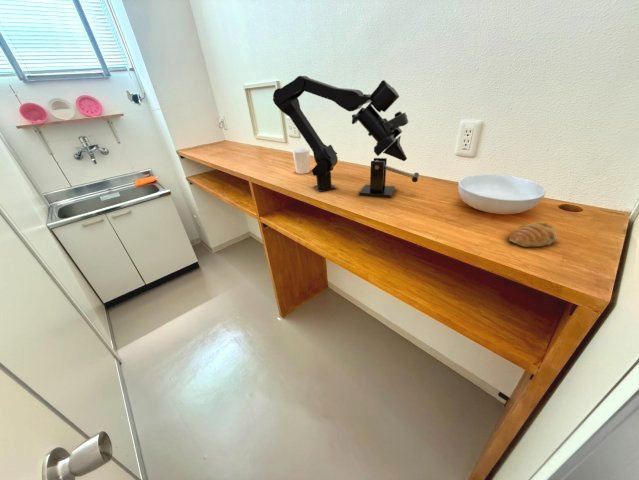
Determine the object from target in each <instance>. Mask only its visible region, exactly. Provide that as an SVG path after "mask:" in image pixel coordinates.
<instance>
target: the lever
mask: <svg viewBox="0 0 639 480" xmlns="http://www.w3.org/2000/svg"><path fill="white" fill-rule="evenodd" d="M376 161H379V160H376ZM384 169H386V171H389V172H392V173H395V174H398V175H402V176H404V177H407V178H410V179H411V181H412V182H413V183H417V182H418V181H419V177H420V173H419V172H414V173H410V172H407V171H405V170H401V169H398V168H395V167H392V166H389V165H387V164H386V165H384Z"/></svg>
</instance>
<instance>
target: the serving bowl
mask: <svg viewBox="0 0 639 480" xmlns="http://www.w3.org/2000/svg"><path fill="white" fill-rule="evenodd" d="M457 187H458V188H457V190H458V191H457V192H458V195H459V197H460V199H461V200H462V201H463V202H464V203H465V204H466V205H468V206H469V207H471V208H473V209H475V210H479V211H481V212H484V213H489V214H496V215H514V214H520V213H524V212H527V211H529V210H532V209H533V208H534V207H536V206H537V205H538V204H539V203H541V202H542V200H543V199H544V197H545V195H546V192H547V191H546V188H545V187H543V186H542V185H541V184H540V183H537V182H535V181H532V180H529V179H526V178H523V177H519V176H513V175H506V174H497V173H495V174H494V173H479V174H471V175H467V176H464V177H462V178H460V179H459V180H458V184H457Z"/></svg>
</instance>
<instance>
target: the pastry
mask: <svg viewBox="0 0 639 480" xmlns="http://www.w3.org/2000/svg"><path fill="white" fill-rule="evenodd" d="M557 240H558V236H557V232H556V228H555V227H554V226H553V225H552V224H550V223H547V222H540V221H536V222H533V223H527V224H523V225H521V226H518V227H517V228H515V229H514V230H513V231H512V232H511V233H510V234H509V242H512V243H513V244H516V245H519V246H521V247H523V248H525V247H527V248H529V247H534V248H537V247H543V246H547V245H548V246H549V245H551V244H552V243H555V242H556V241H557Z"/></svg>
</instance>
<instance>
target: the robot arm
mask: <svg viewBox="0 0 639 480" xmlns="http://www.w3.org/2000/svg"><path fill="white" fill-rule="evenodd" d="M305 92H306V93H309V94H312V95H314V96H318V97H320V98H323V99H327V100H330V101H332V102H334V103H335V104H336V105H338V106H339V107H340V108H342V109H344V110H345V111H347V112H355V111H358V112H357V113H354V114H352V115H351V124H352V125H354V124H357V123H358V122H359V123H360V124H361V125H362V126H363V128H364V129H365V130H366V132H368V133H367V135H368V136H369V137H372V138H373V139H374V141H375V142H376V145H375V146H374V147H373V153H374V154H375V155H376V156H377V157H379V156H380V155H381V154H382V153H383V154H386V155H388V156H390V157H393V158H395V159H398V160H399V161H402V162H406V161H407V160H408V157H407V156H406V153H405V151H404V149H403V147H402V145H401V138H402V135H400V134H401V133H402V132H403V130H402V129H401V128H400V127H404V126H406V125H408V123H409V120H408V115H407V113H406V112H402V111H400V110H399V111H398V112H396V113H395V114H394V117H393V118H390V119H389V120H388V119H387V118H384V117H382V116H381V115H380V114H379V113H381V112H383V113H385V112H387V110H388V109H390V107H391V106H392V105H394V103H395V102H396V101H398V99H399V98H400V95H399V92H397V89H395V88H394V87H393V86H391V85H390V84H389V83H388V82H387V81H386V80H385V79H383V80H381V82H380V83H379V84H378V85H377V87H376V88H375V89H374V91H372V93H368V94H365V93H364V92H363V91H361V90H360V89H355V88H344V87H337V86H334V85H331V84H328V83H325V82H322V81H319V80H316V79H314V78H310V77H308V76H307V75H298V76H296V77H295V78H294V79H293V80H292V81H290V82H288V83H287V84H285V85H284V86H282V87H279V88H276V89H275V90H274V91H273V95H272V101H273V104H274V105H275V106H276V107H277V108H278V109H279V110H280V112H282V113H283V114H285V115H286V116H287V117H289V119H290V120H291V121H292V123H293V124H294V126H295V127H296V129H297V130H298V131H299V133H300V135H301V136H302V137H303V139H304V140H305V142H306V144H307V145H308V146H309V149H311V151H312V153H313V158H314V162H315V164H316V165H315V166H314V167H312V169H311V172H312V175H313V176H314V177H316V185H314V186H313V188H315V190H316V191H318V192H320V193H321V192H326V191H330V190H335V189H336V187H335V186H334V185H333V184H332V171H333V170H334V168H335V166H336V165H337V164H338V160H339V159H338V158H339V157H338V155H337V154H338V152H336V150H335V149H334V147H333V146H332V144H329V145H326V144H325V143H324V142H323V141H322V139H321V138H320V136H319V135H318V133H317V131H316V130H315V129H314V127H313V126H312V124H311V122H310V121H309V120H308V118H307V116H306V115H305V114H304V112H303V111H302V109H301V105H300V100H299V98H300V97H301V96H302V95H303V94H304V93H305ZM367 104H368V105H367ZM364 105H366V106H365V107H363V106H364Z"/></svg>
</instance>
